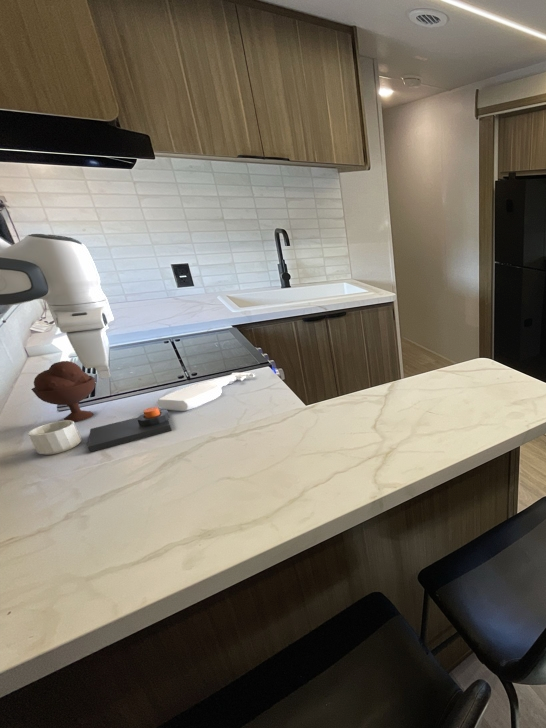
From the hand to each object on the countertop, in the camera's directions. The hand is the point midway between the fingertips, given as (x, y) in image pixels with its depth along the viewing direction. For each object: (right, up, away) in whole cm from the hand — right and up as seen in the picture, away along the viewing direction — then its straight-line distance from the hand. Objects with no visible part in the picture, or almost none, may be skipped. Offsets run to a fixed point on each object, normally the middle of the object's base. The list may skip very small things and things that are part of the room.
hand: (105, 376), depth 89 cm
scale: (+1, -13, +5) cm, 14 cm away
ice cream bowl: (-20, -11, +13) cm, 26 cm away
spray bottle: (+5, -5, +27) cm, 28 cm away
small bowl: (-9, -16, -1) cm, 18 cm away
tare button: (+4, -9, +7) cm, 13 cm away
